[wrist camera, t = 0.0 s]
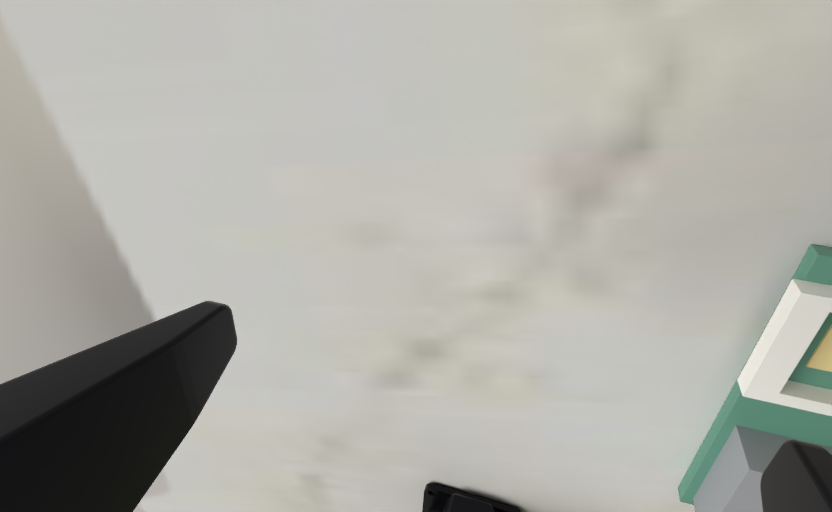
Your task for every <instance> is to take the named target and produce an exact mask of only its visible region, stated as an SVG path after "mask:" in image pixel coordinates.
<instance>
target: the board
mask: <svg viewBox="0 0 832 512" xmlns="http://www.w3.org/2000/svg"><path fill="white" fill-rule="evenodd" d="M789 439H795V440H799V441H803V442H807V443H812V444H816V445H819V446H821V447H823V448H825V449H826V450H827V451H828V452H830V453H831V454H832V248H830V247H824V246H818V245H812V244H811V245H810V247H809V249H808V251H807V253H806V254H805V256H804V258H803V260H802V262H801V264H800V265H799V267H798V269H797V271H796V273H795V275H794V276H793V278H792V280H791V282H790V284H789V286H788V287H787V289H786V291H785V293H784V295H783V297H782V298H781V300H780V302H779V304H778V306H777V308H776V309H775V311H774V313H773V315H772V317H771V319H770V320H769V322H768V324H767V326H766V328H765V330H764V331H763V333H762V335H761V337H760V339H759V341H758V342H757V344H756V346H755V348H754V350H753V352H752V353H751V355H750V357H749V359H748V361H747V363H746V364H745V366H744V368H743V370H742V372H741V374H740V375H739V377H738V379H737V381H736V383H735V385H734V387H733V388H732V390H731V392H730V394H729V396H728V398H727V399H726V401H725V403H724V405H723V407H722V409H721V410H720V412H719V414H718V416H717V418H716V420H715V421H714V423H713V425H712V427H711V429H710V431H709V432H708V434H707V436H706V438H705V440H704V442H703V443H702V445H701V447H700V449H699V451H698V453H697V454H696V456H695V458H694V460H693V462H692V464H691V465H690V467H689V469H688V471H687V473H686V475H685V476H684V478H683V480H682V482H681V484H680V486H679V487H678V491H679V497H680V501H681V502H685V503H688V504H692V505H694V506H695V512H763V508H762V499H761V491H760V482H761V477H762V474H763V472H764V470H765V469H766V467H767V466H768V464H769V463H770V461H771V460H772V458H773V457H774V455H775V454H776V452H777V451H778V449H779V448H780V447H781V445H782V444H783V443H784V442H785V441H787V440H789Z"/></svg>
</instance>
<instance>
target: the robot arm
mask: <svg viewBox="0 0 832 512" xmlns="http://www.w3.org/2000/svg"><path fill="white" fill-rule="evenodd" d="M236 345H237V336H236V331H235V326H234V320H233V315H232V311H231V309H230V307H229V306H227V305H225V304H221V303H217V302H213V301H205V302H202V303H200V304H197V305H195V306H192V307H190V308H187V309H185V310H182V311H180V312H177V313H175V314H173V315H170V316H168V317H165V318H163V319H160V320H158V321H155V322H153V323H150V324H148V325H145V326H143V327H141V328H138V329H136V330H133V331H131V332H128V333H126V334H123V335H121V336H119V337H116V338H113V339H111V340H109V341H106V342H104V343H101V344H99V345H96V346H94V347H91V348H89V349H86V350H84V351H81V352H79V353H76V354H74V355H71V356H69V357H66V358H64V359H62V360H59V361H57V362H54V363H52V364H49V365H47V366H44V367H42V368H39V369H37V370H34V371H32V372H30V373H27V374H25V375H22V376H20V377H17V378H15V379H12V380H10V381H7V382H5V383H2V384H0V512H133V510H134V509H135V508H136V506H137V505H138V503H139V502H140V500H141V499H142V498H143V496H144V495H145V493H146V492H147V490H148V489H149V487H150V486H151V485H152V483H153V482H154V480H155V479H156V478H157V476H158V475H159V473H160V472H161V470H162V469H163V468H164V466H165V465H166V463H167V462H168V460H169V459H170V458H171V456H172V455H173V453H174V452H175V450H176V449H177V448H178V446H179V445H180V443H181V442H182V440H183V439H184V438H185V436H186V435H187V433H188V432H189V430H190V429H191V427H192V426H193V424H194V423H195V421H196V419H197V418H198V416H199V414H200V413H201V411H202V409H203V407H204V405H205V404H206V402H207V400H208V398H209V397H210V395H211V393H212V391H213V389H214V388H215V386H216V384H217V382H218V380H219V379H220V377H221V375H222V373H223V372H224V370H225V368H226V366H227V364H228V363H229V361H230V359H231V357H232V355H233V354H234V352H235V349H236ZM760 491H761V499H762V508H763V512H832V454H831V453H830V452H828V451H827V450H826V449H825V448H823V447H821V446H819V445H816V444H812V443H807V442H803V441H799V440H795V439H789V440H787V441H785V442H784V443H783V444H782V445H781V447H780V448H779V449H778V451H777V452H776V454H775V455H774V457H773V458H772V460H771V461H770V463H769V464H768V466H767V467H766V469H765V470H764V472H763V474H762V477H761V482H760ZM423 512H521V511H520V510H519V509H517V508H515V507H512V506H508V505H505V504H501V503H498V502H495V501H491V500H488V499H484V498H481V497H477V496H474V495H471V494H467V493H464V492H460V491H457V490H454V489H450V488H447V487H443V486H440V485H437V484H433V483H428V484H427V485H426V487H425V491H424V501H423Z"/></svg>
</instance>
